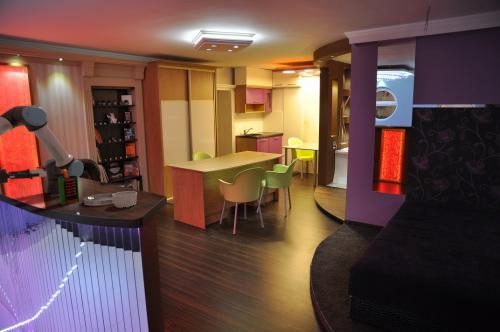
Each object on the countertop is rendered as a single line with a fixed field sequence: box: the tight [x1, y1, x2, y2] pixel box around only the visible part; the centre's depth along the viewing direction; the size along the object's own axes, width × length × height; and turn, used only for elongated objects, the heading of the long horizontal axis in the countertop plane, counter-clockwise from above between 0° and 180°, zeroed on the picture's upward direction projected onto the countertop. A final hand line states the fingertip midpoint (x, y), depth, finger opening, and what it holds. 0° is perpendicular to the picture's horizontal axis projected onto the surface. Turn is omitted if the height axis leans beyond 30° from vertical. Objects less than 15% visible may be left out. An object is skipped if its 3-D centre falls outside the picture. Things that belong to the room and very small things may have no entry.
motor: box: [58, 169, 80, 206], centre depth 201 cm, size 10×9×20 cm
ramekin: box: [112, 190, 138, 209], centre depth 193 cm, size 13×13×7 cm
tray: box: [82, 193, 114, 207], centre depth 203 cm, size 20×20×3 cm
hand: (44, 172), depth 193 cm, fingers open, 13 cm apart
